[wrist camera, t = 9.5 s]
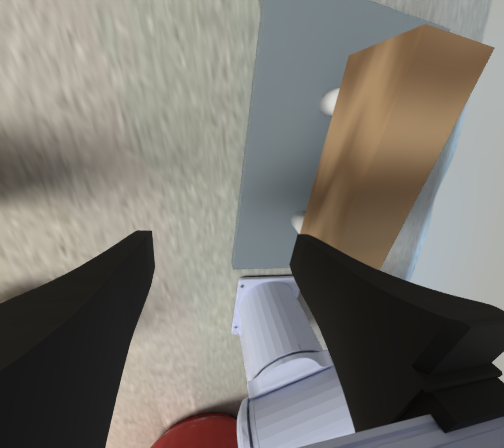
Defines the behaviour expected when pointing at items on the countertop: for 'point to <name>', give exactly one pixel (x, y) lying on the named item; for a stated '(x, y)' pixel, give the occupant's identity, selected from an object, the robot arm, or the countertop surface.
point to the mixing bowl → (201, 433)
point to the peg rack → (297, 113)
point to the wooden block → (388, 136)
